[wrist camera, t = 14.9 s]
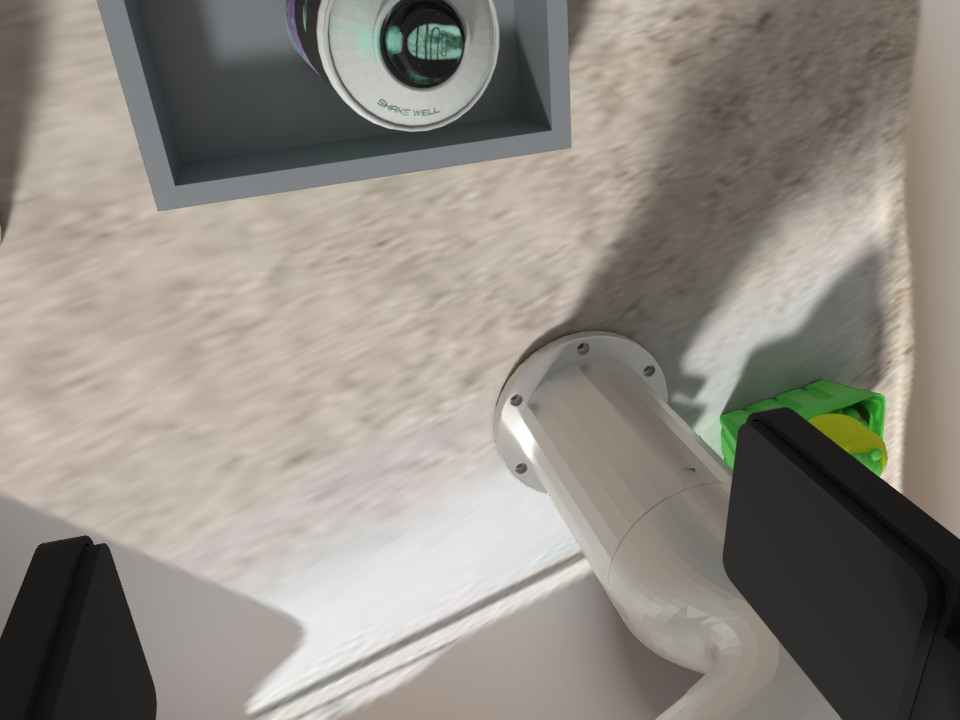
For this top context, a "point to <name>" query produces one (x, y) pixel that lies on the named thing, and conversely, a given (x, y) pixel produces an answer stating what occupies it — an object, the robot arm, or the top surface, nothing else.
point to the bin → (309, 102)
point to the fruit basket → (825, 420)
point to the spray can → (399, 55)
